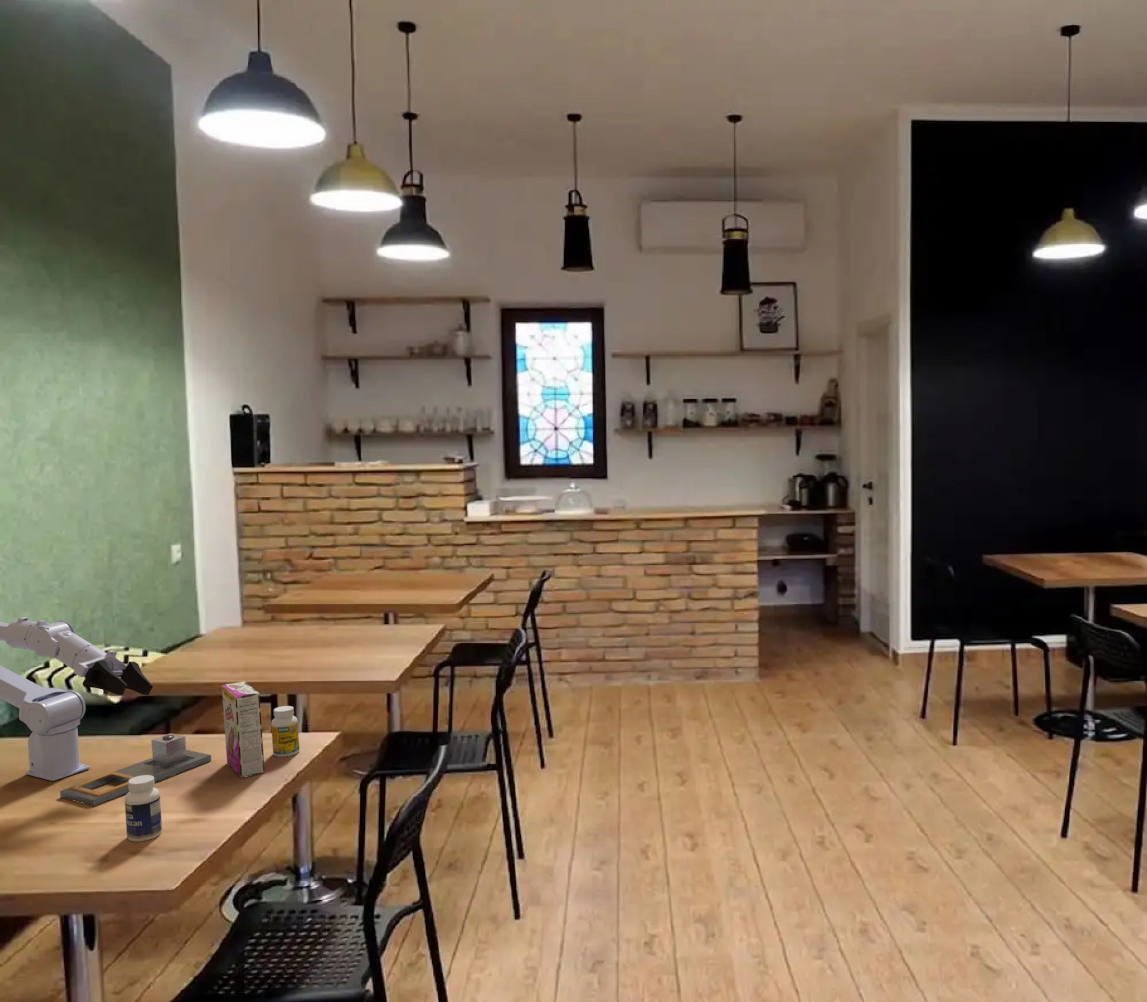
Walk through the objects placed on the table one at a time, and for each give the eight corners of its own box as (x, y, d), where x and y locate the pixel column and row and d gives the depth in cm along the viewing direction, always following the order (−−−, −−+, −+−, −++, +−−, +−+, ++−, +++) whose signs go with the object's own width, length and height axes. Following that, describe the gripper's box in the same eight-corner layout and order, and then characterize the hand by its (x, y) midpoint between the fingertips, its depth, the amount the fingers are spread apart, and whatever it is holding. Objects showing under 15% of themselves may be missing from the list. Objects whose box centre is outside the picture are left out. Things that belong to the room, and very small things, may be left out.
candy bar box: (225, 763, 192) (220, 684, 191) (250, 757, 195) (245, 680, 193) (239, 779, 183) (235, 696, 181) (265, 773, 185) (261, 691, 184)
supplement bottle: (295, 747, 200) (292, 703, 200) (302, 753, 196) (300, 709, 195) (269, 752, 197) (267, 707, 197) (277, 759, 193) (274, 713, 192)
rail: (60, 797, 176) (60, 789, 176) (179, 753, 198) (178, 746, 198) (93, 806, 171) (92, 798, 171) (211, 760, 193) (210, 753, 193)
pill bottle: (119, 841, 155) (115, 784, 155) (140, 828, 161) (136, 772, 160) (149, 843, 154) (145, 785, 154) (168, 829, 160) (165, 773, 159)
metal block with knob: (153, 768, 190) (151, 738, 189) (172, 761, 194) (170, 731, 193) (167, 772, 188) (165, 741, 187) (187, 764, 192) (185, 734, 191)
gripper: (69, 637, 178) (122, 670, 174) (119, 642, 192) (170, 672, 188) (50, 671, 177) (103, 705, 174) (103, 673, 191) (153, 704, 187)
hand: (137, 690), depth 181 cm, fingers open, 7 cm apart
